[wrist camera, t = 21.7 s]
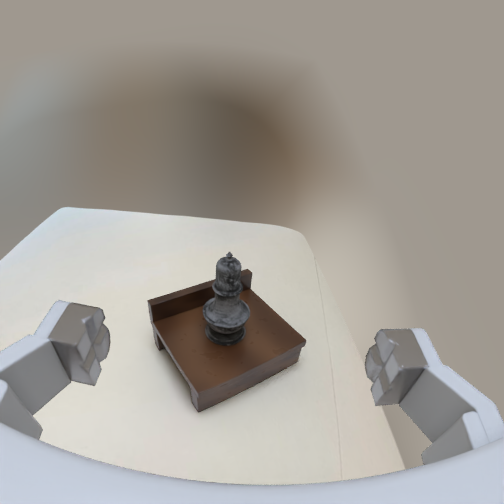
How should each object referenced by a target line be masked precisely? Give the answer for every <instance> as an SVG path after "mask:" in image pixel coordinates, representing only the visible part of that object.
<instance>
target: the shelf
mask: <svg viewBox="0 0 504 504" xmlns="http://www.w3.org/2000/svg"><path fill="white" fill-rule="evenodd" d="M251 279H252V272H251V271H250V270H248V269H246V270H243V271H241V278H240V282H241V283H242V285H243V290H242V292H241V293H240V298H239V299H241V300H242V301H244V302H245V303H246V304H247V305H248V307H249V309H250V317H249V319H248V320H247V321H246V323H245V325H244V327H245V330H246V333H245V337H244V338H243V340H241V341H240V342H239V343H237V344H234V345H230V346H223V345H218V344H215V343H214V342H212V341H210V340H209V339H208V337H207V336H206V333H205V328H206V325H207V324H208V323H207V321H206V319H205V318H204V316H203V307H204V305H205V304H206V302H207V301H209V300H210V299H212V298H215V291H214V290H213V287H212V285H213V283H214V281H215V280H216V279H215V280H211V281H208V282H205V283H202V284H199V285H196V286H192V287H189V288H186V289H183V290H180V291H176V292H173V293H170V294H167V295H164V296H160V297H157V298H154V299H151V300H148V307H149V314H150V320H151V324H152V327H153V333H154V339H155V344H156V345H157V347H158V349H159V350H162V349H165V348H166V349H167V351H168V353H169V354H170V356H171V357H172V359H173V361H174V362H175V364H176V365H177V367H178V369H179V370H180V372H181V373H182V375H183V376H184V378H185V379H186V381H187V382H188V384H189V385H190V387H191V395H192V403H193V405H194V406H195V408H196V409H197V411H198V412H200V411H202V410H204V409H206V408H209V407H211V406H213V405H215V404H217V403H219V402H221V401H224V400H226V399H228V398H230V397H232V396H234V395H236V394H238V393H240V392H242V391H244V390H246V389H248V388H250V387H252V386H254V385H256V384H258V383H259V382H261V381H263V380H265V379H267V378H269V377H271V376H273V375H274V374H276V373H278V372H280V371H282V370H284V369H285V368H287V367H289V366H291V365H293V364H294V363H296V362H297V361H298V358H299V355H300V351H301V348H302V347H304V346H305V343H306V340H305V339H304V338H303V337H302V336H301V335H300V334H299V333H298V332H297V331H296V330H294V329H293V328H292V327H291V326H290V325H289V324H288V323H287V322H286V321H285V320H284V319H282V318H281V317H280V316H279V315H278V314H277V313H276V312H275V311H274V310H273V309H272V308H270V307H269V306H268V305H267V304H266V303H265V302H264V301H263V300H262V299H261V298H260V297H259V296H258V295H256V294H255V293H254V292H253V291H252V290H251V289H250V288H251Z"/></svg>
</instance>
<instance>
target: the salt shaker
mask: <svg viewBox="0 0 504 504" xmlns="http://www.w3.org/2000/svg"><path fill="white" fill-rule="evenodd" d="M226 256H227V257H223V258H221V259H220V260H219V261H218V262H217V265H216V280H215V281H214V283H213V285H212V287H213V290H214V291H215V298H212V299H210V300H209V301H207V302H206V304H205V305H204V307H203V316H204V318H205V319H206V321H207V323H208V324H207V325H206V328H205V333H206V336H207V337H208V339H209V340H210V341H212V342H214V343H215V344H218V345H223V346H230V345H234V344H237V343H239V342H240V341H241V340H243V338H244V337H245V333H246V330H245V327H244V325H245V323H246V321H247V320H248V319H249V317H250V309H249V307H248V305H247V304H246V303H245V302H244V301H242V300H241V299H239V298H240V293H241V292H242V290H243V285H242V283H241V282H240V278H241V263H240V262H239V261H238V260H237V259H236V258H234V257H232V256H233V255H232V254H231V253H230V252H229V253H228V254H227V255H226Z"/></svg>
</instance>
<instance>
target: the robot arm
mask: <svg viewBox="0 0 504 504" xmlns="http://www.w3.org/2000/svg"><path fill="white" fill-rule="evenodd" d="M104 319H105V316H104V313H103V310H102V309H100V308H98V307H92V306H87V305H82V304H77V303H71V302H66V301H61V300H58V301H56V302H55V303H54V304H53V306H52V307H51V309H50V310H49V312H48V313H47V315H46V316H45V318H44V319H43V321H42V322H41V324H40V325H39V327H38V328H37V330H36V331H35V333H34V335H28V336H26V337H24V338H22V339H21V340H19V341H17V342H16V343H14V344H12V345H11V346H9V347H7V348H5V349H4V350H2V351H0V504H504V422H503V420H502V418H501V416H500V413H499V411H498V409H497V407H496V405H495V403H494V402H492V401H491V400H490V399H489V398H487V397H486V396H485V395H484V394H482V393H481V392H480V391H479V390H477V389H476V388H475V387H474V386H472V385H471V384H470V383H468V382H467V381H466V380H465V379H463V378H462V377H461V376H460V375H458V374H457V373H456V372H455V371H453V370H452V369H451V368H449V367H448V366H447V365H445V366H443V365H442V363H441V361H440V358H439V356H438V354H437V353H436V350H435V348H434V346H433V345H432V343H431V341H430V339H429V337H428V335H427V333H426V331H425V330H424V329H423V328H413V329H381V330H379V331H378V332H377V334H376V336H375V338H374V339H375V342H376V344H375V345H373V346H372V347H371V348H369V351H368V353H367V355H366V361H365V370H366V374H367V377H368V378H369V379H370V380H371V381H372V382H373V385H372V387H371V392H372V395H373V399H374V402H375V406H380V405H392V404H399V406H400V407H401V408H402V409H403V411H404V412H405V413H406V414H407V415H408V416H409V417H410V418H411V419H412V420H413V422H414V423H415V424H416V425H417V426H418V427H419V428H420V429H421V431H422V432H423V433H424V434H425V435H426V436H427V437H428V438H429V440H430V441H431V442H432V444H431V445H430V446H429V447H428V448H427V449H426V450H425V451H423V453H422V454H421V456H422V460H423V464H424V465H422V466H418V467H414V468H410V469H406V470H402V471H397V472H392V473H387V474H382V475H377V476H371V477H365V478H358V479H351V480H343V481H334V482H324V483H311V484H292V485H247V484H228V483H215V482H205V481H196V480H188V479H181V478H174V477H168V476H162V475H156V474H151V473H146V472H141V471H137V470H132V469H128V468H124V467H120V466H116V465H112V464H108V463H105V462H101V461H98V460H94V459H91V458H88V457H84V456H81V455H78V454H75V453H72V452H69V451H67V450H64V449H61V448H58V447H56V446H53V445H50V444H48V443H45V442H43V441H41V440H39V439H40V436H41V433H42V427H41V425H40V424H39V423H38V422H37V421H36V419H35V418H34V417H33V415H34V414H35V413H36V412H37V411H38V410H40V409H41V408H42V407H43V406H44V405H45V404H46V403H48V402H49V401H50V400H51V399H52V398H53V397H55V396H56V395H57V394H58V393H59V392H60V391H61V390H63V389H64V388H65V387H66V386H67V385H68V384H70V383H71V381H75V382H79V383H83V384H88V385H92V386H95V384H96V382H97V379H98V377H99V374H100V372H101V370H102V369H101V366H100V362H101V361H103V360H104V359H106V357H107V355H108V352H109V348H110V333H109V330H108V328H107V327H106V326H105V325H104V324H103V321H104Z"/></svg>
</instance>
